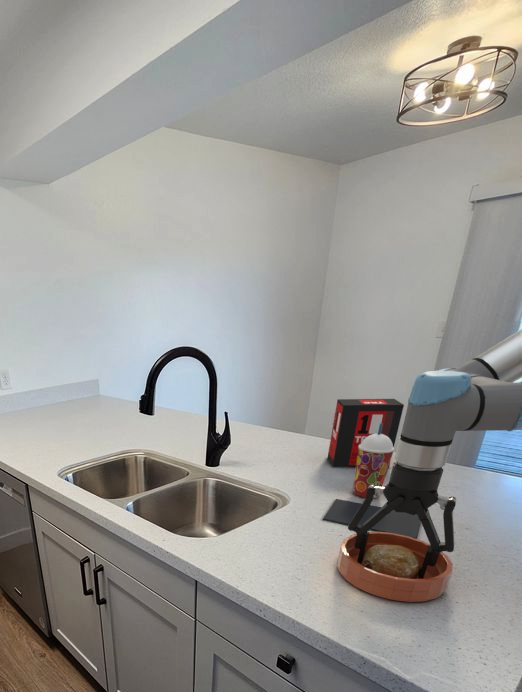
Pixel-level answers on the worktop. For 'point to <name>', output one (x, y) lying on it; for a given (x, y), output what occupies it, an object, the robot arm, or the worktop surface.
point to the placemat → (390, 523)
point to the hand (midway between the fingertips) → (389, 569)
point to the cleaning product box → (361, 426)
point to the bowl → (391, 585)
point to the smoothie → (372, 462)
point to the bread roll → (392, 561)
